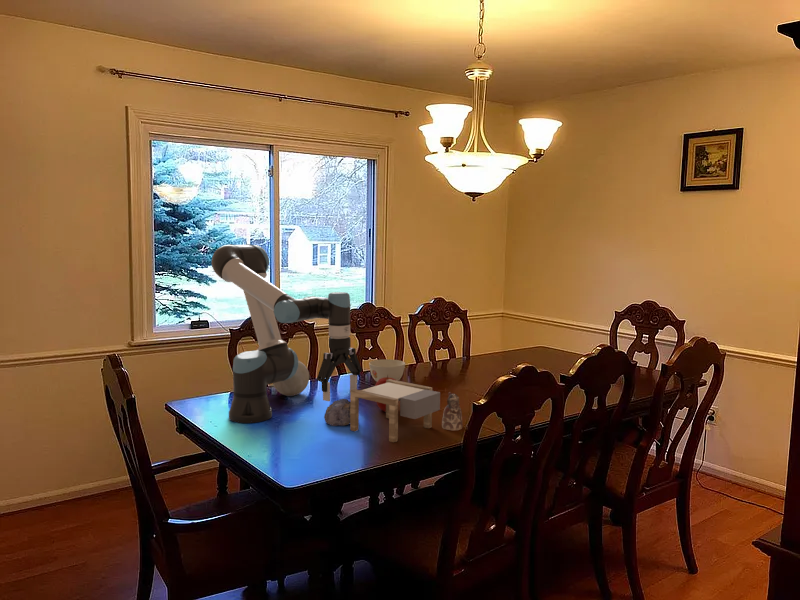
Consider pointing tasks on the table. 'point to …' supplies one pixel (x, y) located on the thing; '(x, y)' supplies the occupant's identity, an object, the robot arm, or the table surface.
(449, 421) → the figurine
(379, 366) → the bowl
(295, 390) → the decorative sphere
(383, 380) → the apple
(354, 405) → the frame
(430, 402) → the trapdoor
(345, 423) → the rock
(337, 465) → the table surface
